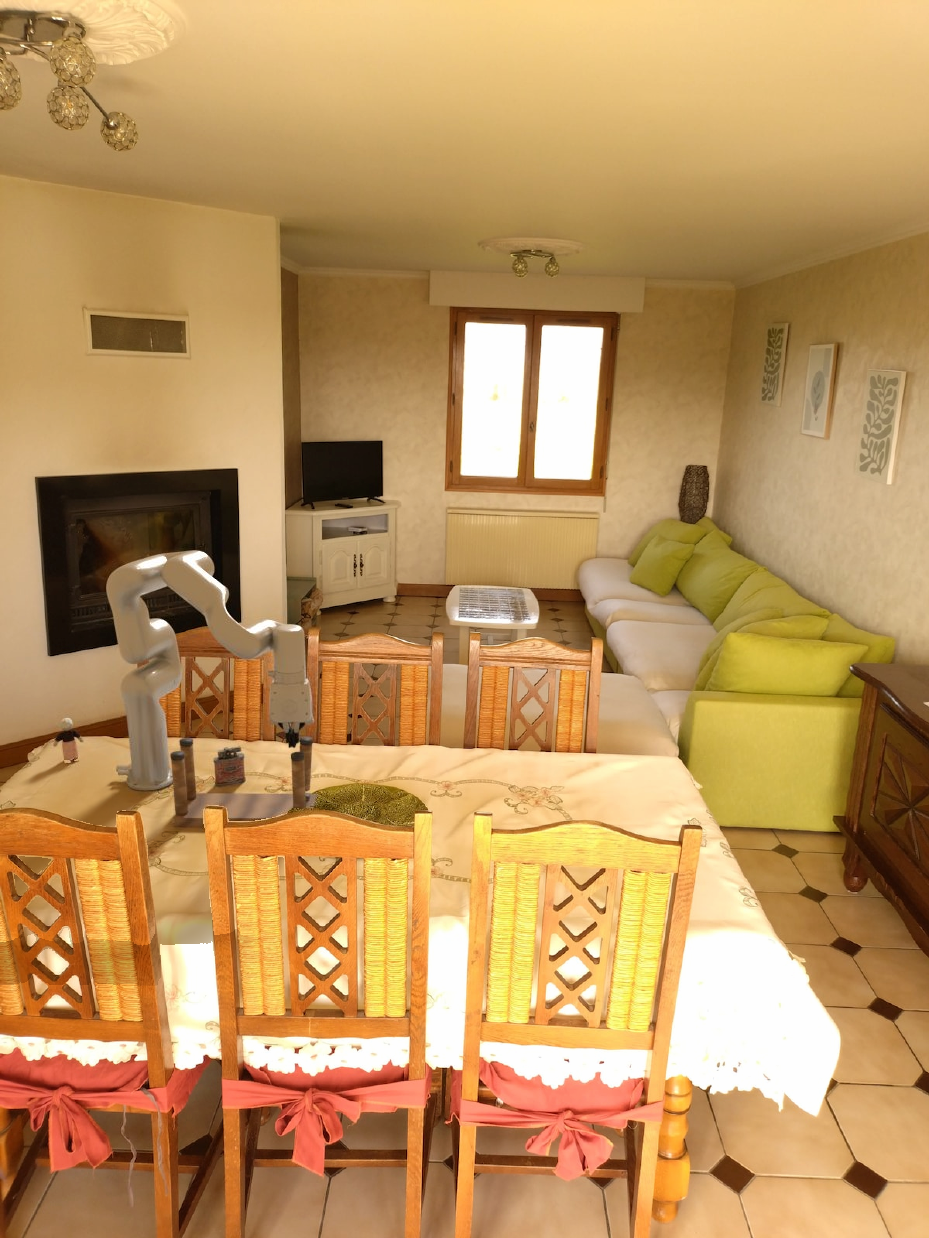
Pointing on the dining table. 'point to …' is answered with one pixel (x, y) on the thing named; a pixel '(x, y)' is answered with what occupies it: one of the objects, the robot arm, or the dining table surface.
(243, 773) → the lighter
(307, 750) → the folding leg
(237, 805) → the stool
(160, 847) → the dining table surface
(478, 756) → the dining table surface
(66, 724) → the grandmother figurine
